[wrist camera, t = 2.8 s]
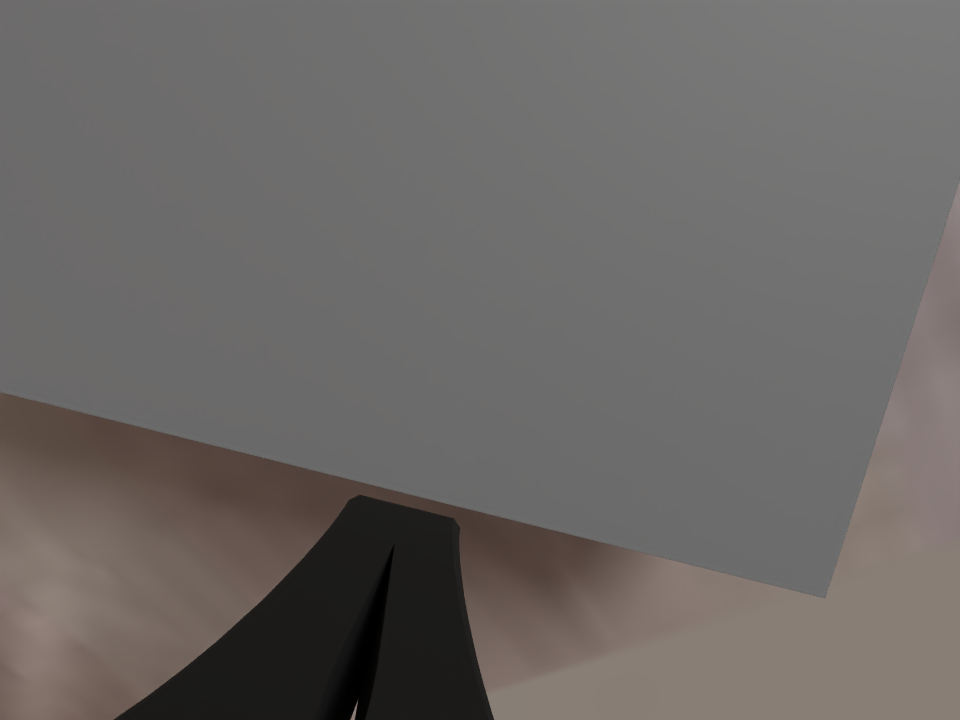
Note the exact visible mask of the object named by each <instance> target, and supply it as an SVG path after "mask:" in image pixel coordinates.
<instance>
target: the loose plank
mask: <svg viewBox="0 0 960 720" xmlns="http://www.w3.org/2000/svg"><path fill="white" fill-rule="evenodd" d="M959 180H960V0H0V392H1V393H5V394H9V395H13V396H17V397H21V398H25V399H29V400H33V401H37V402H41V403H45V404H49V405H53V406H57V407H61V408H65V409H69V410H73V411H77V412H81V413H85V414H89V415H93V416H97V417H101V418H105V419H109V420H113V421H117V422H121V423H125V424H129V425H133V426H137V427H141V428H145V429H149V430H153V431H157V432H161V433H165V434H169V435H173V436H177V437H181V438H185V439H189V440H193V441H197V442H201V443H205V444H209V445H213V446H217V447H221V448H225V449H229V450H233V451H237V452H241V453H245V454H249V455H253V456H257V457H261V458H265V459H269V460H273V461H277V462H281V463H285V464H289V465H293V466H297V467H301V468H305V469H309V470H313V471H317V472H321V473H325V474H329V475H333V476H337V477H341V478H345V479H349V480H353V481H357V482H361V483H365V484H369V485H373V486H377V487H381V488H385V489H390V490H394V491H398V492H402V493H406V494H410V495H414V496H418V497H422V498H426V499H430V500H434V501H438V502H442V503H446V504H450V505H454V506H458V507H462V508H466V509H470V510H474V511H478V512H482V513H486V514H490V515H494V516H498V517H502V518H506V519H510V520H514V521H518V522H522V523H526V524H530V525H534V526H538V527H542V528H546V529H550V530H554V531H558V532H562V533H566V534H570V535H574V536H578V537H582V538H586V539H590V540H594V541H598V542H602V543H606V544H610V545H614V546H618V547H622V548H626V549H630V550H634V551H638V552H642V553H646V554H650V555H654V556H658V557H662V558H666V559H670V560H674V561H678V562H682V563H686V564H690V565H694V566H698V567H702V568H706V569H710V570H714V571H718V572H722V573H726V574H730V575H734V576H738V577H742V578H746V579H750V580H754V581H758V582H762V583H766V584H770V585H774V586H778V587H782V588H786V589H790V590H794V591H798V592H802V593H806V594H810V595H814V596H818V597H822V598H825V597H826V594H827V591H828V588H829V585H830V582H831V578H832V575H833V572H834V569H835V566H836V563H837V560H838V557H839V554H840V550H841V547H842V544H843V541H844V538H845V535H846V532H847V529H848V526H849V522H850V519H851V516H852V513H853V510H854V507H855V504H856V501H857V498H858V494H859V491H860V488H861V485H862V482H863V479H864V476H865V473H866V470H867V466H868V463H869V460H870V457H871V454H872V451H873V448H874V445H875V442H876V438H877V435H878V432H879V429H880V426H881V423H882V420H883V417H884V414H885V411H886V407H887V404H888V401H889V398H890V395H891V392H892V389H893V386H894V383H895V379H896V376H897V373H898V370H899V367H900V364H901V361H902V358H903V355H904V351H905V348H906V345H907V342H908V339H909V336H910V333H911V330H912V327H913V323H914V320H915V317H916V314H917V311H918V308H919V305H920V302H921V299H922V295H923V292H924V289H925V286H926V283H927V280H928V277H929V274H930V271H931V267H932V264H933V261H934V258H935V255H936V252H937V249H938V246H939V243H940V240H941V236H942V233H943V230H944V227H945V224H946V221H947V218H948V215H949V212H950V208H951V205H952V202H953V199H954V196H955V193H956V190H957V187H958V184H959Z"/></svg>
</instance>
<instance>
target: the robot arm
mask: <svg viewBox="0 0 960 720" xmlns="http://www.w3.org/2000/svg"><path fill="white" fill-rule="evenodd" d="M459 533H460V527H459V526H458V524H457V523H456V521H455V520H454V518H450V517H446V516H442V515H438V514H434V513H430V512H426V511H422V510H418V509H414V508H410V507H406V506H402V505H398V504H394V503H390V502H386V501H382V500H378V499H374V498H370V497H366V496H362V495H358V496H356V497H354V498H352V499H350V500H349V501H348V503H347V504H346V506H345V507H344V509H343V510H342V512H341V513H340V515H339V516H338V517H337V519H336V520H335V521H334V523H333V524H332V525H331V526H330V528H329V529H328V530H327V531H326V533H325V534H324V535H323V536H322V537H321V539H320V540H319V541H318V542H317V543H316V544H315V545H314V547H313V548H312V549H311V550H310V551H309V552H308V553H307V555H306V556H305V557H304V558H303V559H302V560H301V561H300V562H299V563H298V564H297V565H296V566H295V567H294V568H293V569H292V570H291V571H290V573H289V574H288V575H287V576H286V577H285V578H284V579H283V580H282V581H281V582H280V583H279V584H278V585H277V586H276V587H275V588H274V589H273V590H272V591H271V592H270V593H269V594H268V595H267V596H266V597H265V598H264V599H263V600H262V601H261V602H260V603H259V604H258V605H257V606H255V607H254V608H253V609H252V610H251V611H250V612H249V613H248V614H247V615H246V616H244V617H243V618H242V619H241V620H240V621H239V622H238V623H237V624H236V625H234V626H233V627H232V628H231V629H230V630H229V631H228V632H227V633H226V634H225V635H223V636H222V637H221V638H220V639H219V640H218V641H217V642H216V643H214V644H213V645H212V646H211V647H210V648H208V649H207V650H206V651H205V652H204V653H202V654H201V655H200V656H199V657H198V658H196V659H195V660H194V661H193V662H191V663H190V664H189V665H188V666H186V667H185V668H184V669H183V670H181V671H180V672H179V673H177V674H176V675H175V676H174V677H172V678H171V679H170V680H168V681H167V682H166V683H164V684H163V685H162V686H160V687H159V688H158V689H156V690H155V691H154V692H152V693H151V694H150V695H148V696H147V697H146V698H144V699H143V700H141V701H140V702H139V703H137V704H136V705H134V706H133V707H131V708H130V709H128V710H127V711H126V712H124V713H123V714H121V715H120V716H118V717H117V718H115V719H114V720H350V719H351V717H352V714H353V711H354V709H355V706H356V704H357V701H358V705H357V710H356V716H355V720H494V718H493V715H492V712H491V708H490V705H489V701H488V698H487V694H486V691H485V687H484V684H483V680H482V677H481V673H480V669H479V665H478V661H477V657H476V652H475V648H474V643H473V638H472V634H471V629H470V625H469V620H468V615H467V609H466V604H465V598H464V591H463V583H462V576H461V567H460V553H459ZM358 698H359V699H358Z"/></svg>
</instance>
